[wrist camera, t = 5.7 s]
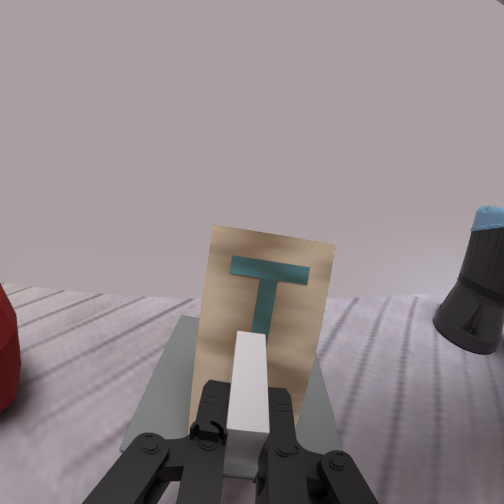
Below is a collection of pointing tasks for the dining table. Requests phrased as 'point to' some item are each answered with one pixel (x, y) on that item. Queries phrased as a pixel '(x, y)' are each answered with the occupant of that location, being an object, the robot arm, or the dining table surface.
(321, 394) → the mat
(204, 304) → the letter block
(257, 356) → the robot arm
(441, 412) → the dining table surface
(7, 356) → the apple
